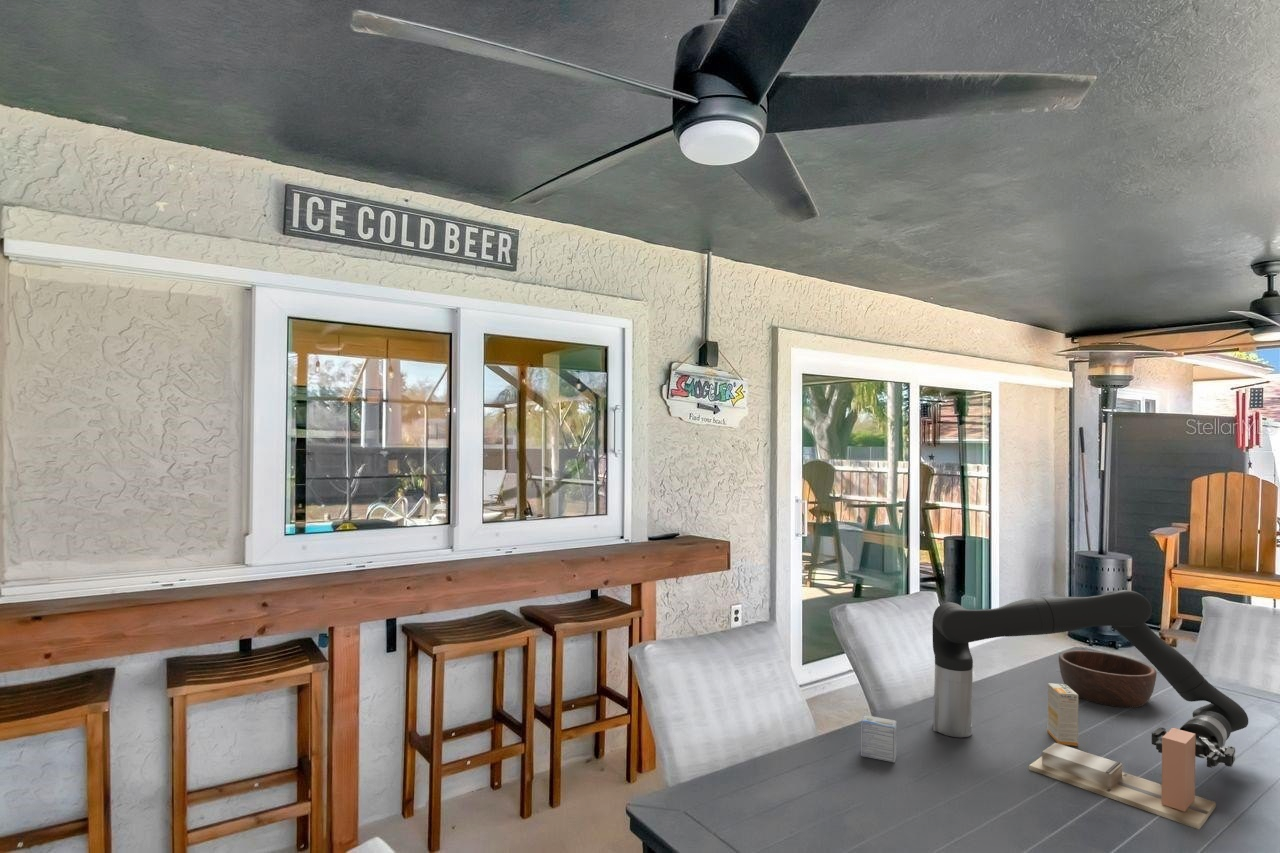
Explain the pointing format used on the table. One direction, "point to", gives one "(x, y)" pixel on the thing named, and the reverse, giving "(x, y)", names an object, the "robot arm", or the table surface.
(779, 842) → the table surface
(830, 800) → the table surface
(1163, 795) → the salmon orange block
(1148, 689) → the wooden bowl
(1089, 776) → the wooden base board
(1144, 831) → the table surface
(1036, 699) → the table surface
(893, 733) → the medicine box
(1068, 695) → the supplement box
